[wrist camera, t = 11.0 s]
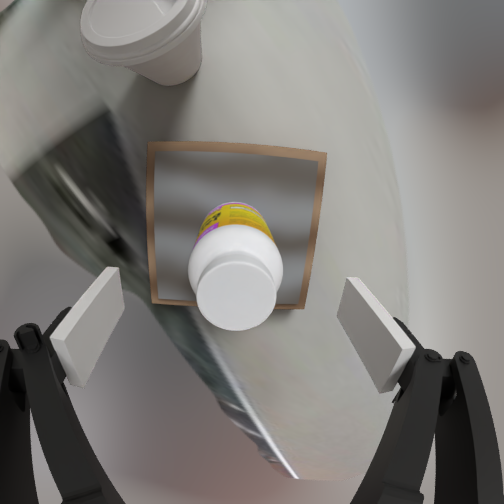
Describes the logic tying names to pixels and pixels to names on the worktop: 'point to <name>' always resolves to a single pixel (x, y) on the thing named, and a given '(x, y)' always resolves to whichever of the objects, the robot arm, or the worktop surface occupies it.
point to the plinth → (223, 191)
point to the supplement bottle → (235, 267)
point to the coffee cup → (146, 36)
